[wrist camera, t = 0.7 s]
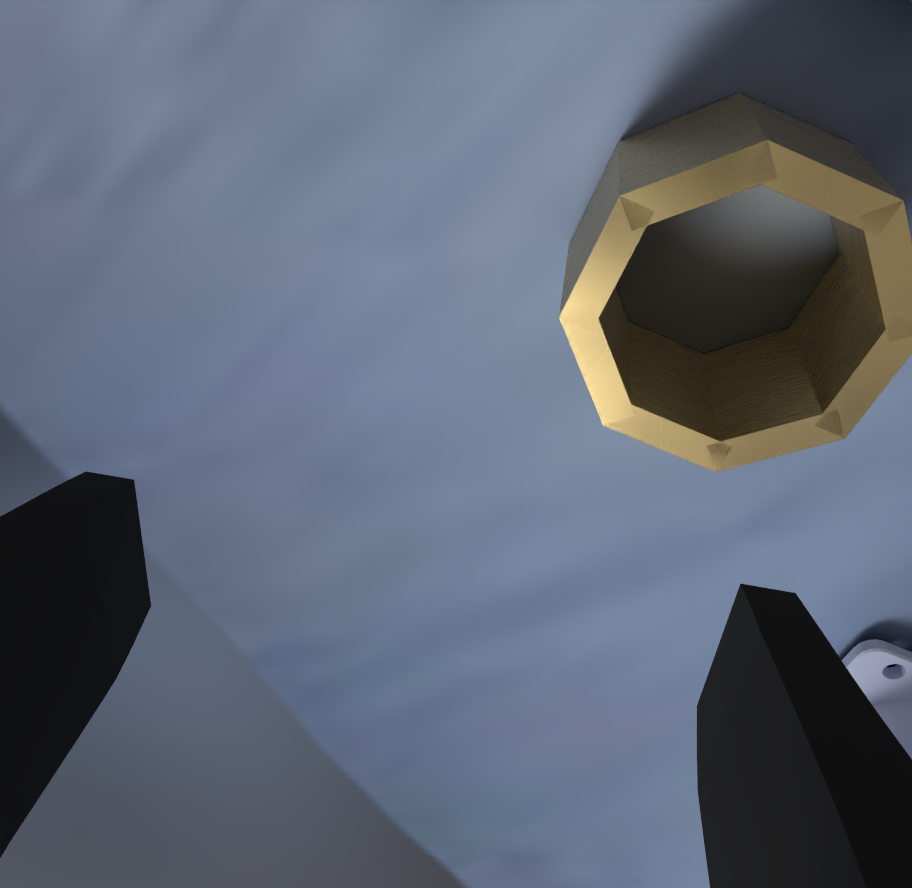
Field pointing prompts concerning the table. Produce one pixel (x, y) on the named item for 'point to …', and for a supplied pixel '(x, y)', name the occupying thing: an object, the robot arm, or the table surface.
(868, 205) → the collar
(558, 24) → the table surface
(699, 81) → the table surface
